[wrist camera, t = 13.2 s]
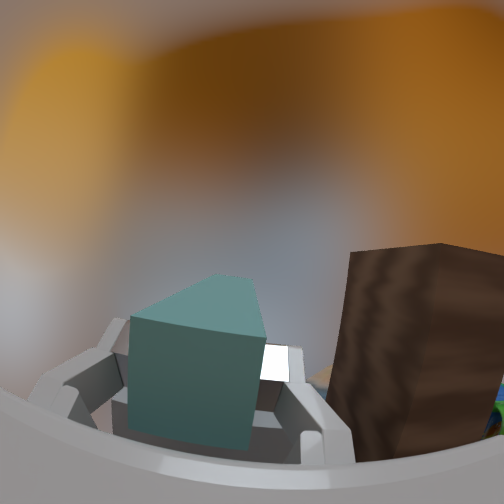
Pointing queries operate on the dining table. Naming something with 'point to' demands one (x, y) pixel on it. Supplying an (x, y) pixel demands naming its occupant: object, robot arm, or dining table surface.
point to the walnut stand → (418, 349)
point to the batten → (198, 364)
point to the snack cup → (496, 417)
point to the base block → (260, 446)
